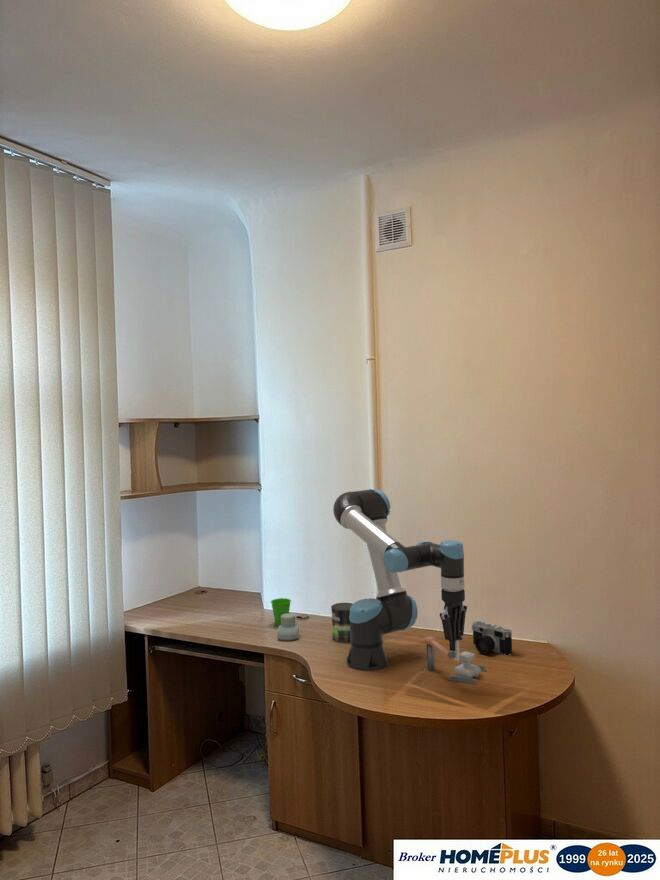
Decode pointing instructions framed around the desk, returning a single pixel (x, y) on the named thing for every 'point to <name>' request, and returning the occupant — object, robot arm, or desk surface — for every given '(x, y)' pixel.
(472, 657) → the stamp
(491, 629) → the camera
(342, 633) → the coffee can
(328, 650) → the desk surface
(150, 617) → the desk surface
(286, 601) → the cup
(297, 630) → the air freshener
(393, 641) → the desk surface
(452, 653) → the ball-knob lever
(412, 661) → the desk surface
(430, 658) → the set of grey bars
